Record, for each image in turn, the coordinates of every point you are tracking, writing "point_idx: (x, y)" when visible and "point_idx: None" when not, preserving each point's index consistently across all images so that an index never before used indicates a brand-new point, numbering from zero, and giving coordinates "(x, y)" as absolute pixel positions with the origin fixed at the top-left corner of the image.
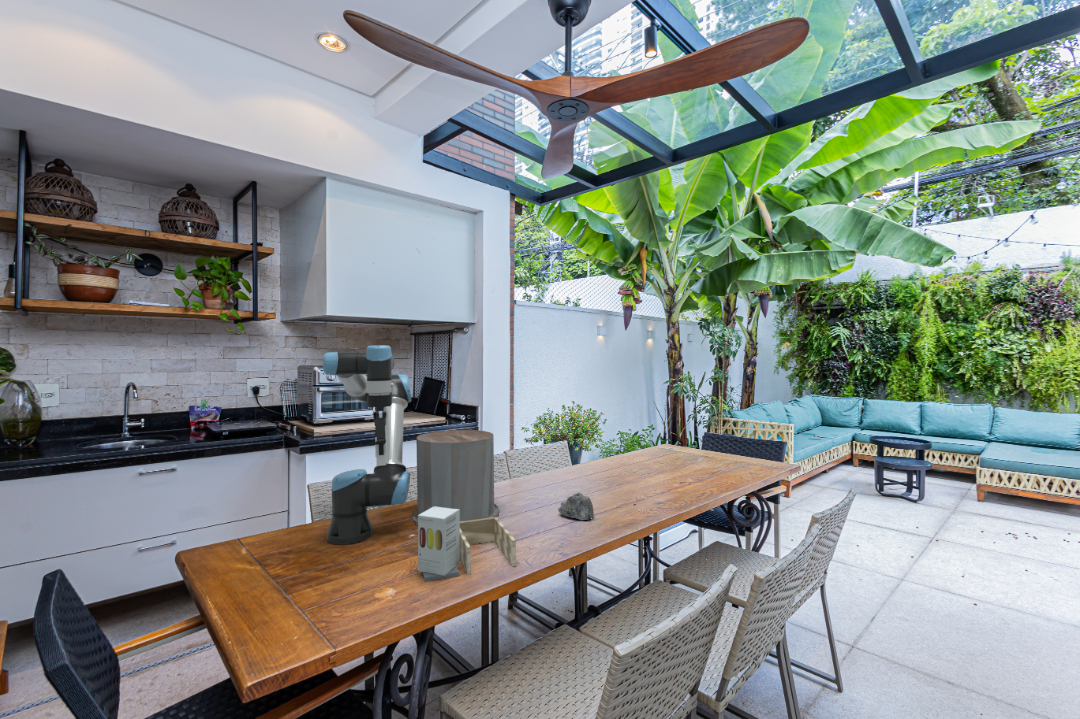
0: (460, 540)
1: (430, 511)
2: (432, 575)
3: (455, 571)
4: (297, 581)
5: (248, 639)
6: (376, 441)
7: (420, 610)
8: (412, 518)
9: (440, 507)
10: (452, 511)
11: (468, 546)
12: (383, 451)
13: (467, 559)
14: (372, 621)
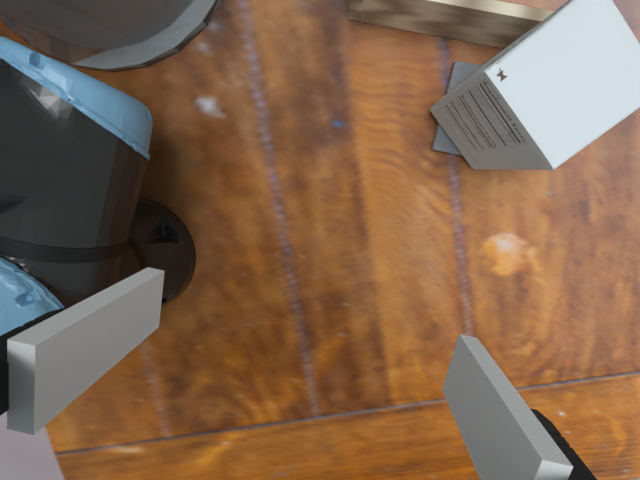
0: (469, 17)
1: (548, 111)
2: None
3: None
4: (342, 385)
5: None
6: (72, 390)
7: (629, 214)
8: (86, 66)
9: (519, 52)
10: (608, 22)
11: None
12: (559, 437)
13: None
14: (602, 302)
